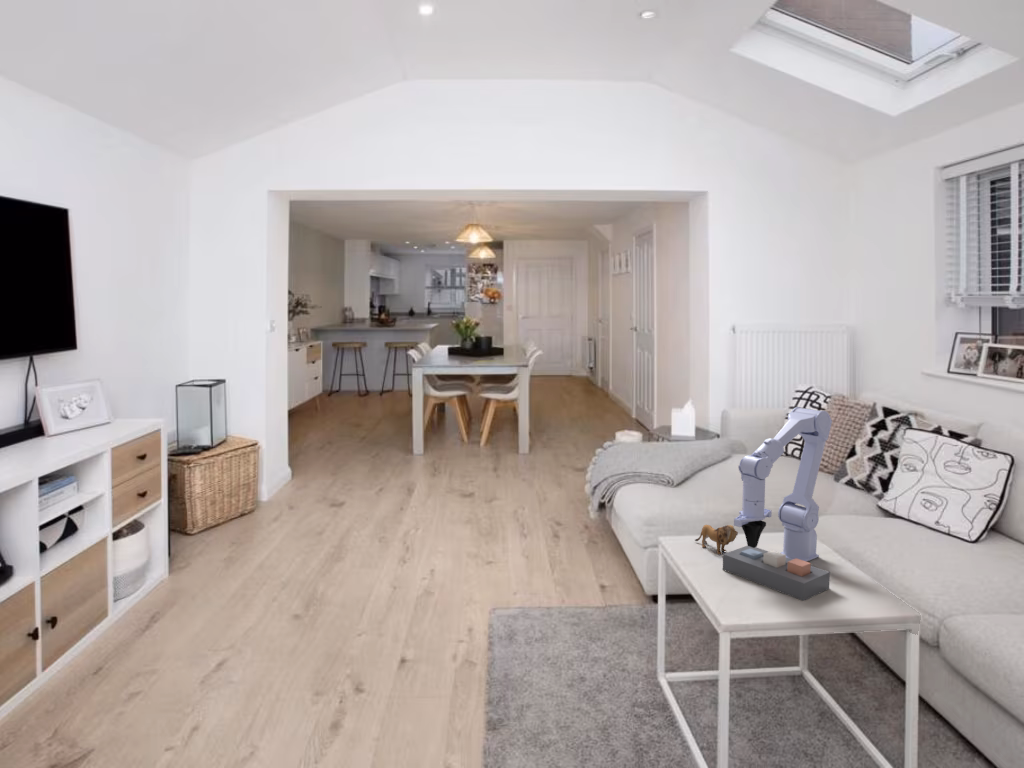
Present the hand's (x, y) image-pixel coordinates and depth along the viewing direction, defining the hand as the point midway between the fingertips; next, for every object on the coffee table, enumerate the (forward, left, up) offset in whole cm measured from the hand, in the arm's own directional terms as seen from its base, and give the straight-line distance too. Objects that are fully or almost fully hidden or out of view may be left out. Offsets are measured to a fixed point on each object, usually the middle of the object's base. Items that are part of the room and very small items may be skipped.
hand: (752, 546), depth 176 cm
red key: (0, +14, -3) cm, 14 cm away
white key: (0, +7, -3) cm, 8 cm away
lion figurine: (-5, -16, -7) cm, 18 cm away
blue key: (0, 0, -5) cm, 5 cm away
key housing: (0, +7, -7) cm, 10 cm away
